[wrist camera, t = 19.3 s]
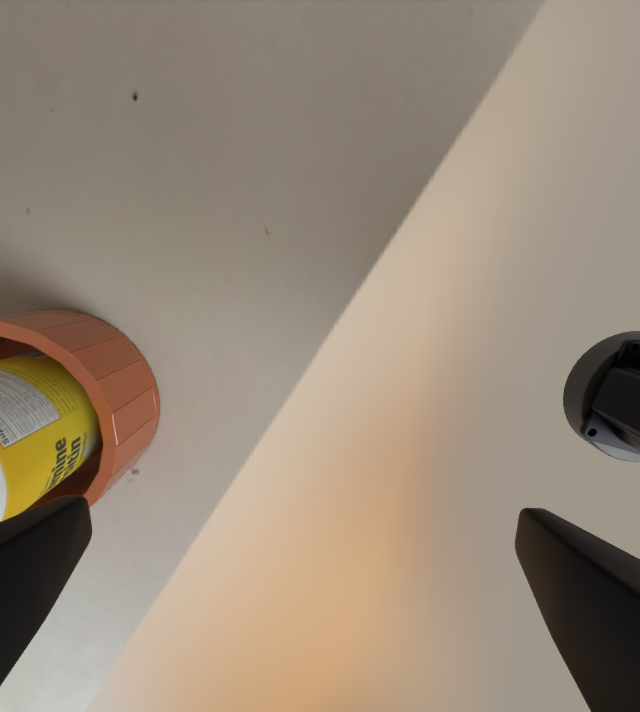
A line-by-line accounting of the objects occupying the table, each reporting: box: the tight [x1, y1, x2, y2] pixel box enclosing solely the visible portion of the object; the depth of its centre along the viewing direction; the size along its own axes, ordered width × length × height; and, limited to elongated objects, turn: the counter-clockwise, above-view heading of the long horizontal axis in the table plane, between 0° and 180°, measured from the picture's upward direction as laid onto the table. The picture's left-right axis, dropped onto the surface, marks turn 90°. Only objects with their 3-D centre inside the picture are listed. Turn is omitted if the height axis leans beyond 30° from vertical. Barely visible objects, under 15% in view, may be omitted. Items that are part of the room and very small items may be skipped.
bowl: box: [0, 309, 160, 513], centre depth 19 cm, size 10×10×4 cm
